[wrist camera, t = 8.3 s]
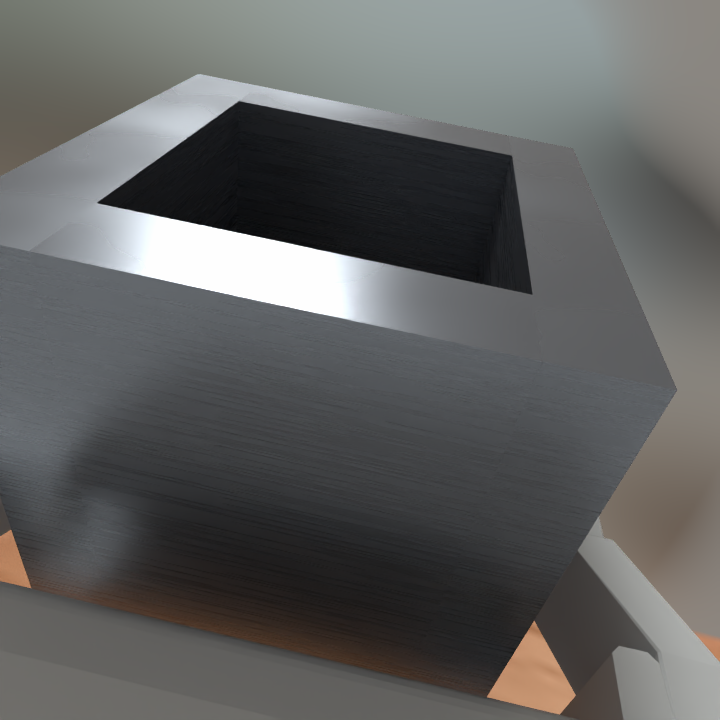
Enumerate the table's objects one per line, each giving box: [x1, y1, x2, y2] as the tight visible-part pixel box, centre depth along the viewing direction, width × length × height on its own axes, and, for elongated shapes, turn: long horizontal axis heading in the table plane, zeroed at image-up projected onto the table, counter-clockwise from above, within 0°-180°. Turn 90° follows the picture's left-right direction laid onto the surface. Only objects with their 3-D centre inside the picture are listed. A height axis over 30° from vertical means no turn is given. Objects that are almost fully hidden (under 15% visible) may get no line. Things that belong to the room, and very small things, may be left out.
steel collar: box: [0, 74, 677, 697], centre depth 10 cm, size 6×6×11 cm
